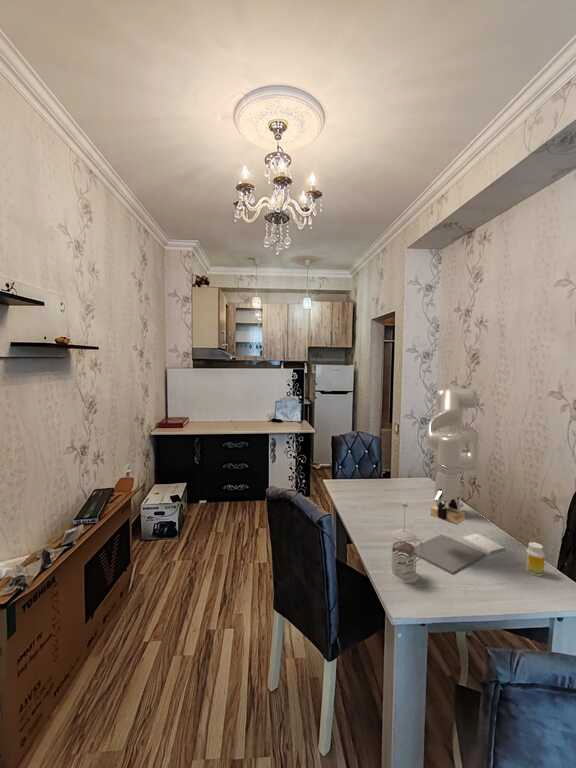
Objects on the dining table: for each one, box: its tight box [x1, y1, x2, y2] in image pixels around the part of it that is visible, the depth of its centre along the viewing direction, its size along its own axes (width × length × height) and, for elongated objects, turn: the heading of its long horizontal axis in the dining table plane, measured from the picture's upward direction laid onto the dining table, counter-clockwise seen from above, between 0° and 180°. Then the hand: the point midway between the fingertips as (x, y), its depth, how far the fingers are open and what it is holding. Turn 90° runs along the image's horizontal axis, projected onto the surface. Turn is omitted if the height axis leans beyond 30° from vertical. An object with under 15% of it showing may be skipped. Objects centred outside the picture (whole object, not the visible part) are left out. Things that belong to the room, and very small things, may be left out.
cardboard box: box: [430, 504, 466, 525], centre depth 134 cm, size 10×6×3 cm, turn 38°
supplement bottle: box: [524, 541, 546, 577], centre depth 123 cm, size 5×5×10 cm
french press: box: [388, 501, 424, 584], centre depth 121 cm, size 10×12×25 cm
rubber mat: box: [414, 533, 487, 575], centre depth 135 cm, size 22×18×1 cm
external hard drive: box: [462, 533, 506, 555], centre depth 142 cm, size 2×8×12 cm
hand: (447, 515), depth 134 cm, fingers closed on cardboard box, 6 cm apart
